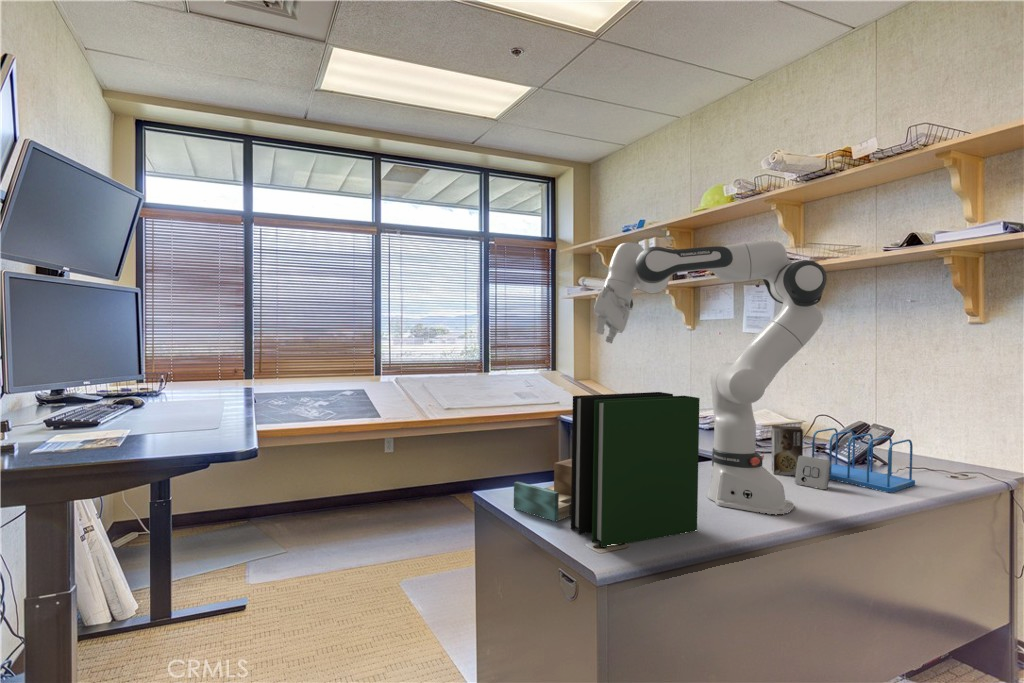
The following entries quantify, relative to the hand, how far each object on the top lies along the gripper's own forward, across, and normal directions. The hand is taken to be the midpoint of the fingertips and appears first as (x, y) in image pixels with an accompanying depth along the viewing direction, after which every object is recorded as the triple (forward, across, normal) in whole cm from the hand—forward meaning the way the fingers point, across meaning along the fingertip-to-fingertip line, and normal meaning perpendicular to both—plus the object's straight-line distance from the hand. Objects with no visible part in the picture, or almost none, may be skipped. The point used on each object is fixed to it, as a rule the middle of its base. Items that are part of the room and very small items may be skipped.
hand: (604, 338), depth 159 cm
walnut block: (+44, 0, -3) cm, 45 cm away
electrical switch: (+22, +53, -60) cm, 84 cm away
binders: (+48, -11, -24) cm, 54 cm away
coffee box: (+20, +66, -53) cm, 87 cm away
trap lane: (+49, -4, -2) cm, 49 cm away
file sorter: (+16, +69, -74) cm, 103 cm away
